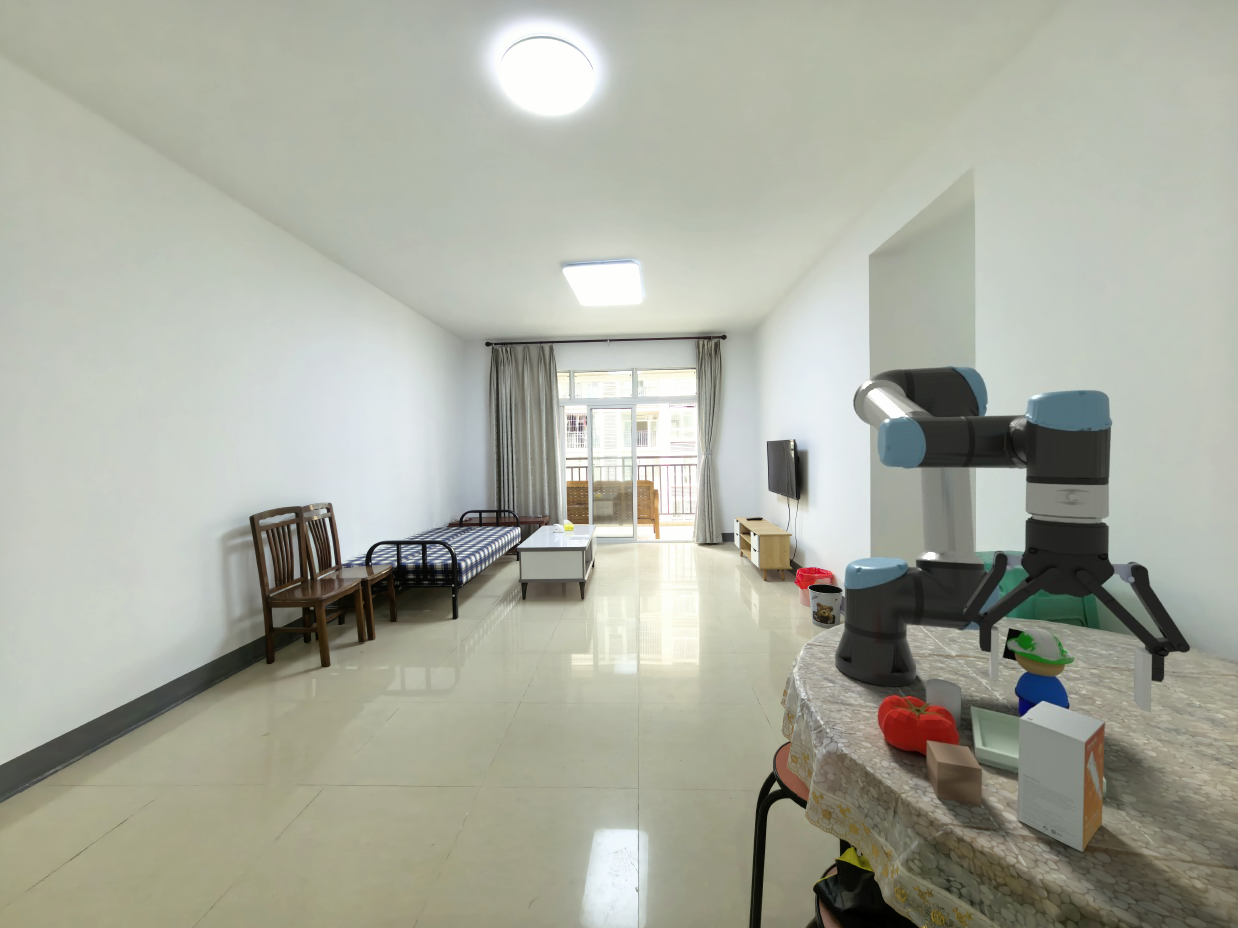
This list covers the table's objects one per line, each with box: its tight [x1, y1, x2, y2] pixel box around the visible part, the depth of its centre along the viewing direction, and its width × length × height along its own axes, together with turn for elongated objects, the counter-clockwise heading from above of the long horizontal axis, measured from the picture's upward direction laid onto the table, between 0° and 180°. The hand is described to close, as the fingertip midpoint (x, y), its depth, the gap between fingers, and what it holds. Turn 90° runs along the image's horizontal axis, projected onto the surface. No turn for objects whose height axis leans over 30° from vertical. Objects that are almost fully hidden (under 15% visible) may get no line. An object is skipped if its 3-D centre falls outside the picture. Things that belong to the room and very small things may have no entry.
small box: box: [1016, 701, 1106, 853], centre depth 60 cm, size 8×6×13 cm
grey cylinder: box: [925, 678, 962, 729], centre depth 84 cm, size 5×5×6 cm
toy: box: [1002, 627, 1075, 717], centre depth 85 cm, size 9×9×15 cm
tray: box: [970, 705, 1107, 799], centre depth 75 cm, size 14×14×2 cm
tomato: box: [877, 694, 960, 757], centre depth 76 cm, size 10×11×7 cm
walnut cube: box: [925, 740, 983, 807], centre depth 67 cm, size 5×5×5 cm
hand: (1063, 690), depth 60 cm, fingers open, 13 cm apart
